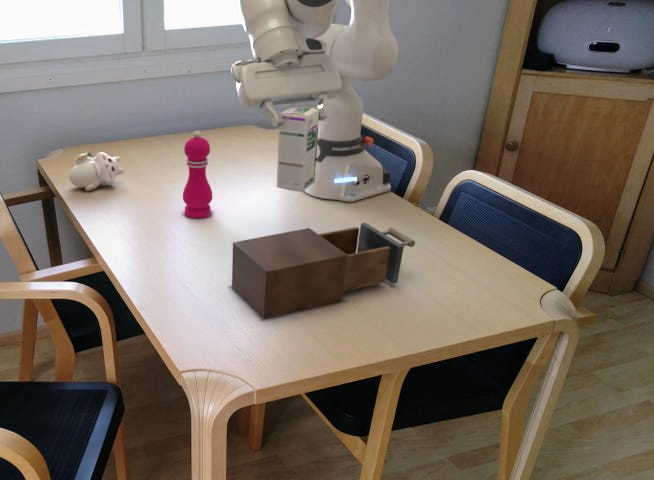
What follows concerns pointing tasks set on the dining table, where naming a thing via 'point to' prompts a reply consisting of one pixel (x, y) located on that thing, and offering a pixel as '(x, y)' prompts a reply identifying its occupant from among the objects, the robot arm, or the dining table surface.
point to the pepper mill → (197, 178)
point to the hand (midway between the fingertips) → (301, 122)
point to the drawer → (369, 254)
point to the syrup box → (297, 148)
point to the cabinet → (288, 272)
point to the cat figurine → (94, 171)
